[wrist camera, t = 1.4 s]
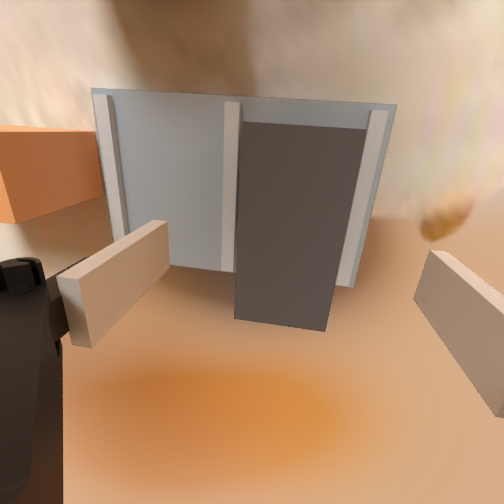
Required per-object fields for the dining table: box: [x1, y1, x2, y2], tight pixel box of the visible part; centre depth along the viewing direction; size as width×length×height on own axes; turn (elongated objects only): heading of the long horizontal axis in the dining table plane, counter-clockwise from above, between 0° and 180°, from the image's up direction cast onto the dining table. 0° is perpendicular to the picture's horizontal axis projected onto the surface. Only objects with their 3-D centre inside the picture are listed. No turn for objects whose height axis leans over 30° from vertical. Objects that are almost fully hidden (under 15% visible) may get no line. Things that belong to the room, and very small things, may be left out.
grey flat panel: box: [91, 88, 397, 288], centre depth 26 cm, size 16×25×2 cm, turn 87°
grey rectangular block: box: [234, 121, 367, 332], centre depth 21 cm, size 12×6×10 cm, turn 177°
